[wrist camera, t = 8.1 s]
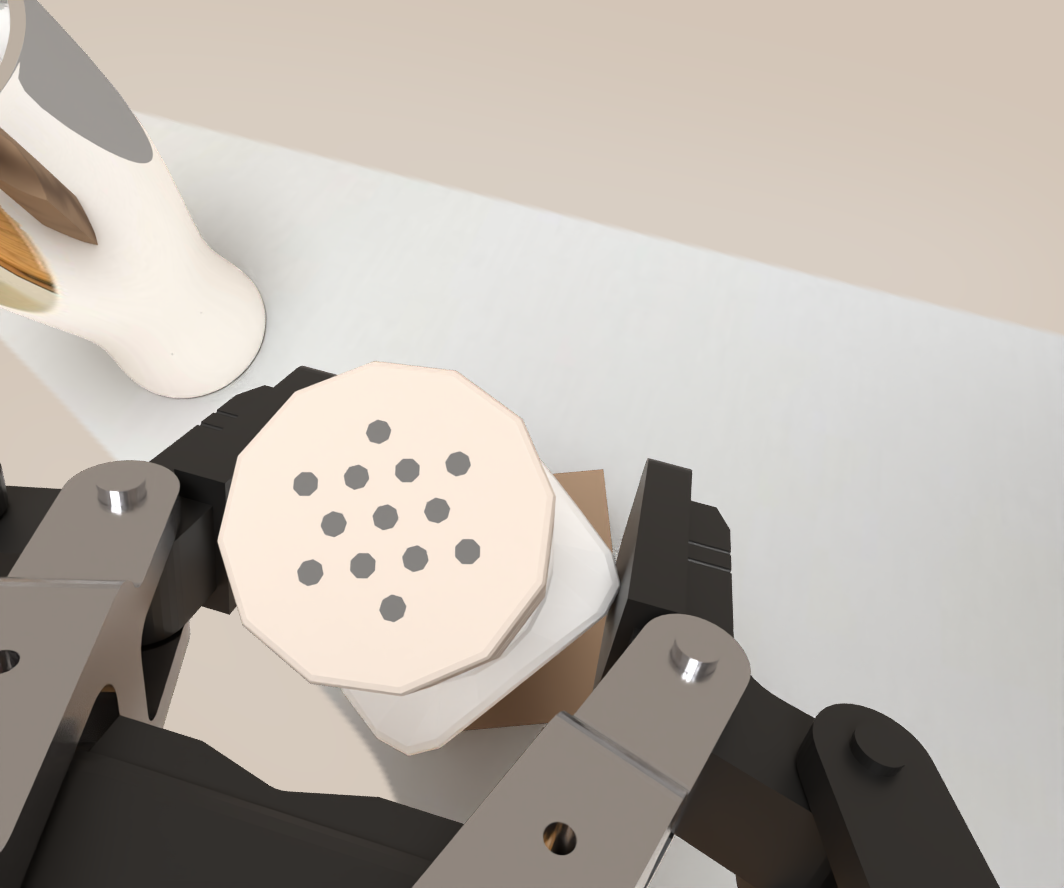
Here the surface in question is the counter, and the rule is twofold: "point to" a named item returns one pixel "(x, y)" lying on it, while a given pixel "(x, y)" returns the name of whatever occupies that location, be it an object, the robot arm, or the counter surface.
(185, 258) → the beer glass
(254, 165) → the counter surface
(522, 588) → the pepper shaker
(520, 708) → the walnut block
